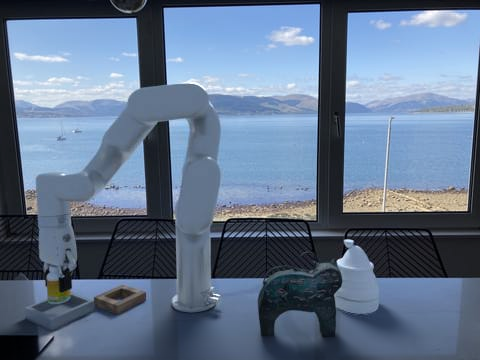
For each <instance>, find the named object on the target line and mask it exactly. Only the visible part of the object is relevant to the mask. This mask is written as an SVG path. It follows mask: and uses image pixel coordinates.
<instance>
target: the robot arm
mask: <svg viewBox="0 0 480 360" xmlns="http://www.w3.org/2000/svg"><path fill="white" fill-rule="evenodd" d="M182 119H183V120H184V119H185V120H186V121H187V123H188V127H189V133H188V140H187V148H186V152H185V154H186V155H185V157H184V158H185V159H184V162H183V165H182V169H181V174H182V176H181V177H182V179H181V185H180V190H179V195H178V199H177V201H176V203H175V206H174V222H175V224H174V225H175V249H176V251H175V255H176V258H175V259H176V260H175V261H176V286H177V287H176V291H177V293H176V294H175V295H174V296H173V297H172V299H171V305H172V307H173V308H174V309H175V310H177V311H180V312H183V313H199V312H205V311H208V310H210V309H212V308H213V307H214V306H217V307H218V306H220V304H221V300H222V295H221V294H218V293H215V287H214V286H212V275H211V274H212V272H211V271H212V270H211V268H212V265H211V262H212V261H211V249H212V248H211V246H212V245H211V226H212V224H213V222H214V219H215V215H216V214H215V213H216V209H217V203H218V199H219V192H220V186H221V178H222V177H221V175H222V173H221V168H220V166H219V164H218V156H219V149H220V142H221V134H222V133H221V131H222V130H221V127H222V126H221V120H220V117H219V114H218V112H217V110H216V109H215V107H214V105H213V104H212V103H211V102H210V95H209V93H208V91H207V90H206V88H205V87H204V86H202V85H200V84H199V83H197V82H191V81H189V82H179V83H171V84H163V85H157V86H156V85H155V86H154V85H153V86H146V87H139V88H138V89H135V90H134V91H132V92H131V94H130V95H129V97H128V99H127V102H126V107H125V108H124V109H123V111H121V113H120V114H119V115H118V117H117V118H116V119H115V120H114V122H112V124H111V125H110V126H109V127H108V129H107V130H106V131H105V132H104V135H102V136H103V137H102V139H101V142H100V146H99V148H98V150H97V152H96V153H95V155H94V156H93V157H92V159H90V161H89V162H88V163H87V165H86V166H85V167H83V168H84V169H82V170H81V171H79V172H76V173H71V174H66V173H64V172H44V173H39V174H37V175H36V177H35V190H36V191H35V193H36V209H37V222H38V223H37V224H38V225H37V226H38V253H39V254H38V257H39V260H40V261H41V264H42V266H43V268H42V269H43V272H44V280H45V281H44V286H45V287H46V288H47V275H48V274H49V273H50V271H49V265H51V264H52V265H55V266H58V270H59V274H60V277H59V292H61V293H62V292H65V291H67V290H70V291H71V290H72V289H73V281H72V275H73V272H74V270H75V269H76V268H77V260H78V253H77V243H76V238H75V233H74V229H73V226H72V217H71V216H72V215H71V202H72V203H74V202H75V203H86V202H89V201H91V200H93V199H94V198H95V197H97V196H98V195H99V194H101V192H102V191H103V190H105V188H106V186H107V185H108V184H109V183H110V182H111V180H112V179H113V177H115V175H117V173H118V172H119V170H120V169H121V168H122V166H123V165H124V164H125V163H126V162H127V161H128V160H129V159H130V158H131V156H132V155H133V153H134V152H135V151H136V150H137V149H138V148H139V146H140V145H141V144H142V142H143V141H144V140H145V139H146V138H147V136H148V135H149V134H150V132H151V131H152V130H153V129H154V128H155V126H156V125H157V124H158V122H166V121H177V120H182ZM63 262H64V263H66V264H63ZM65 266H66V269H65V270H64V271H63V267H65Z"/></svg>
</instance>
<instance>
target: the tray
mask: <svg viewBox="0 0 480 360" xmlns="http://www.w3.org/2000/svg"><path fill="white" fill-rule="evenodd" d="M95 311H96V306H95V304H94V299H91V298H88V297H85V296H82V295H80V294H78V293H74V292H72V291H70V299H69V300H68V301H66V302H64V303H61V304H50V303H49V302H48V298H47V299H44V300H40V301H38V302H36V303H33V304H31V305H28V306H25V307H24V315H25V317H24V318H25V319H26V320H27V321H29V322H32V323H34V324H36V325H38V326H39V327H42V328H43V329H46V330H48V331H51V332H53V331H56V330H58V329H60V328H61V327H64V326H66V325H70V324H71V323H73V322H75V321H78V320H79V319H81V318H83V317H85V316H88V315H89V314H92V313H94V312H95Z"/></svg>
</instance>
